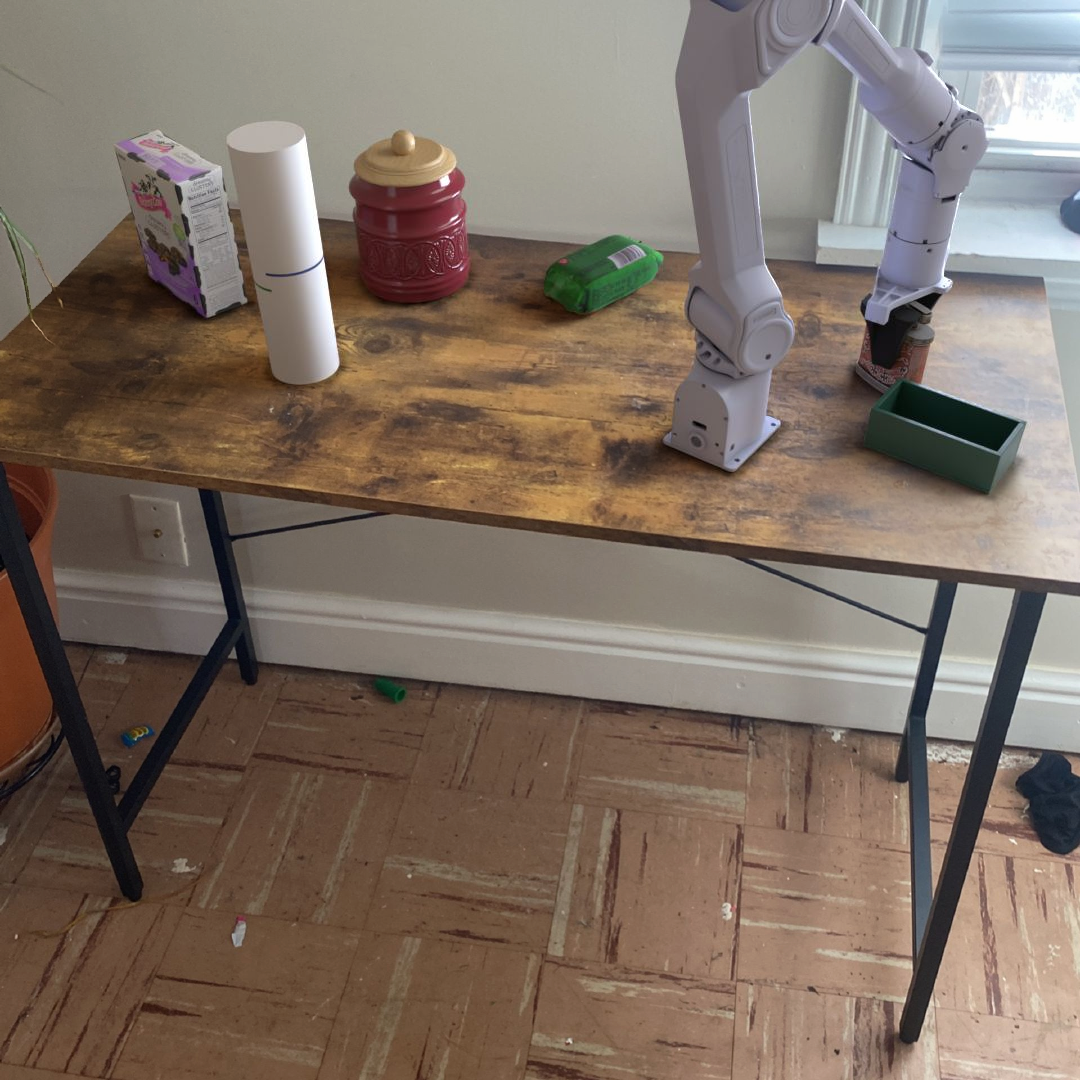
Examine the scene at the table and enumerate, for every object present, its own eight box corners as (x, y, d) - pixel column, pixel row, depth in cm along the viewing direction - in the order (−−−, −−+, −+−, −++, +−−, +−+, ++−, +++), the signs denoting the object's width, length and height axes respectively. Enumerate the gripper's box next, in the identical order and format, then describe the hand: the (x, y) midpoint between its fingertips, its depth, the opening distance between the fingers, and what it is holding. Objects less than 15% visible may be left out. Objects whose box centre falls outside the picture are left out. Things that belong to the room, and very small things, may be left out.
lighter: (847, 369, 123) (864, 283, 116) (872, 359, 124) (889, 274, 118) (902, 407, 118) (922, 319, 111) (927, 396, 119) (949, 310, 112)
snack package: (674, 281, 137) (676, 240, 134) (575, 329, 129) (575, 286, 126) (631, 260, 141) (632, 219, 138) (532, 305, 134) (531, 263, 130)
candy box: (146, 276, 140) (110, 142, 129) (190, 259, 143) (158, 126, 132) (205, 320, 132) (173, 181, 121) (250, 302, 135) (222, 164, 124)
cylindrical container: (326, 387, 122) (288, 155, 105) (261, 380, 123) (213, 149, 106) (348, 350, 127) (315, 123, 110) (285, 344, 128) (244, 118, 111)
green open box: (988, 494, 107) (1000, 456, 104) (862, 445, 113) (870, 408, 110) (1015, 459, 111) (1027, 421, 108) (891, 413, 117) (899, 376, 114)
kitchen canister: (391, 243, 145) (376, 101, 133) (488, 261, 141) (481, 116, 130) (341, 294, 136) (319, 146, 124) (442, 314, 132) (430, 163, 121)
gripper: (928, 273, 103) (899, 401, 113) (990, 212, 112) (959, 335, 121) (854, 251, 107) (832, 376, 116) (920, 193, 115) (895, 314, 124)
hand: (892, 354), depth 119 cm, fingers closed on lighter, 4 cm apart
